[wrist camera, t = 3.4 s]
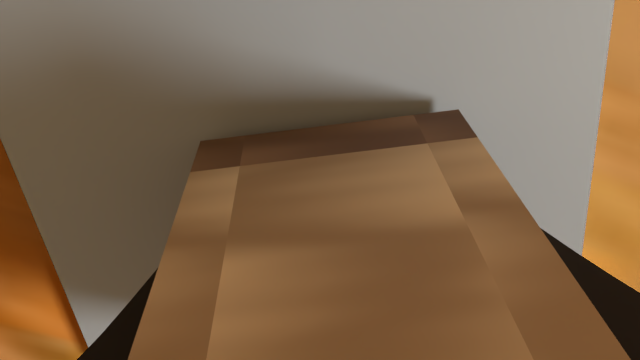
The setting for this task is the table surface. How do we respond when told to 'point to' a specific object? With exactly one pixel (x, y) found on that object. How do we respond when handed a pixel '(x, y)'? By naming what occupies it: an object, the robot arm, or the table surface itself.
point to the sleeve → (362, 254)
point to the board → (274, 105)
